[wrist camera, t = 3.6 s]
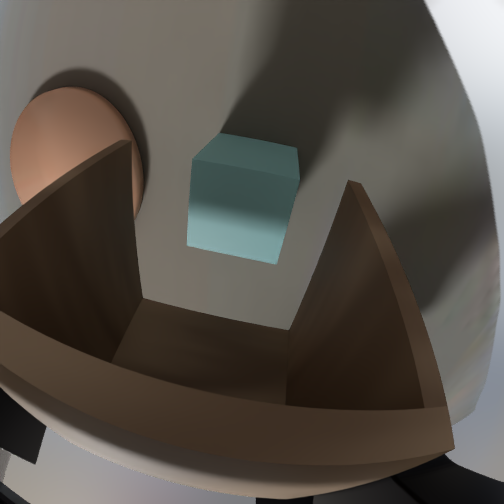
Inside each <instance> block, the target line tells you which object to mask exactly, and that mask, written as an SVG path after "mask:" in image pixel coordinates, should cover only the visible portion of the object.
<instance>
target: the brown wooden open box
mask: <svg viewBox="0 0 504 504" xmlns="http://www.w3.org/2000/svg"><path fill="white" fill-rule="evenodd" d="M0 387H1V388H2V389H3V390H4V391H5V392H6V393H7V394H8V395H9V396H10V397H11V398H13V399H14V400H15V401H16V402H17V403H18V404H19V405H21V406H22V407H23V408H24V409H25V410H27V411H28V412H29V413H30V414H32V415H33V416H34V417H35V418H37V419H38V420H39V421H41V422H42V423H43V424H45V425H46V426H47V427H49V428H50V429H51V430H53V431H54V432H56V433H57V434H59V435H60V436H62V437H63V438H65V439H66V440H68V441H69V442H71V443H72V444H74V445H76V446H78V447H80V448H82V449H84V450H86V451H88V452H91V453H93V454H95V455H97V456H100V457H102V458H104V459H106V460H109V461H111V462H114V463H116V464H119V465H122V466H124V467H126V468H129V469H132V470H135V471H138V472H140V473H143V474H146V475H150V476H153V477H156V478H160V479H163V480H166V481H170V482H174V483H178V484H182V485H186V486H190V487H195V488H199V489H204V490H209V491H215V492H220V493H227V494H234V495H241V496H249V497H259V498H273V499H291V498H299V497H306V496H312V495H318V494H323V493H329V492H333V491H338V490H343V489H347V488H351V487H355V486H359V485H362V484H366V483H370V482H373V481H376V480H380V479H383V478H386V477H389V476H392V475H395V474H397V473H400V472H403V471H406V470H408V469H411V468H413V467H416V466H418V465H421V464H423V463H425V462H428V461H430V460H432V459H434V458H437V457H439V456H441V455H443V454H445V453H447V452H449V451H451V450H453V449H455V446H454V439H453V433H452V427H451V422H450V416H449V411H448V406H447V402H446V397H445V393H444V389H443V385H442V381H441V377H440V373H439V369H438V366H437V362H436V359H435V355H434V352H433V349H432V345H431V342H430V339H429V336H428V333H427V330H426V327H425V324H424V321H423V318H422V315H421V313H420V310H419V307H418V305H417V302H416V299H415V297H414V294H413V291H412V289H411V286H410V284H409V282H408V279H407V277H406V274H405V272H404V270H403V267H402V265H401V263H400V260H399V258H398V256H397V254H396V251H395V249H394V247H393V245H392V243H391V241H390V239H389V236H388V234H387V232H386V230H385V228H384V226H383V224H382V222H381V220H380V218H379V216H378V214H377V212H376V210H375V209H374V207H373V205H372V203H371V201H370V199H369V197H368V195H367V194H366V192H365V190H364V188H363V186H362V185H361V183H357V182H354V181H350V180H348V182H347V185H346V188H345V191H344V193H343V196H342V199H341V202H340V205H339V208H338V210H337V213H336V216H335V219H334V221H333V224H332V227H331V230H330V232H329V235H328V238H327V240H326V243H325V245H324V248H323V251H322V253H321V256H320V258H319V261H318V263H317V266H316V268H315V271H314V273H313V276H312V278H311V281H310V283H309V286H308V288H307V290H306V293H305V295H304V298H303V300H302V302H301V305H300V307H299V309H298V312H297V314H296V316H295V318H294V321H293V323H292V325H291V327H290V330H284V329H278V328H273V327H267V326H262V325H257V324H252V323H247V322H242V321H237V320H232V319H227V318H223V317H218V316H214V315H209V314H205V313H200V312H196V311H192V310H188V309H184V308H179V307H175V306H171V305H167V304H164V303H160V302H156V301H152V300H148V299H145V298H143V296H142V289H141V282H140V274H139V266H138V257H137V247H136V237H135V224H134V209H133V189H132V140H119V141H117V142H116V143H114V144H112V145H110V146H108V147H107V148H105V149H103V150H102V151H100V152H98V153H97V154H95V155H93V156H92V157H90V158H88V159H87V160H85V161H84V162H82V163H80V164H79V165H77V166H76V167H74V168H73V169H71V170H70V171H68V172H67V173H65V174H64V175H62V176H61V177H59V178H58V179H57V180H55V181H54V182H52V183H51V184H50V185H48V186H47V187H45V188H44V189H43V190H41V191H40V192H39V193H37V194H36V195H35V196H34V197H32V198H31V199H30V200H28V201H27V202H26V203H25V204H23V205H22V206H21V207H20V208H19V209H17V210H16V211H15V212H14V213H13V214H11V215H10V216H9V217H8V218H7V219H6V220H5V221H3V222H2V223H1V224H0Z"/></svg>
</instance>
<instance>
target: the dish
mask: <svg viewBox="0 0 504 504" xmlns="http://www.w3.org/2000/svg"><path fill="white" fill-rule="evenodd" d="M119 140H132V189H133V209H134V220H135V219H136V217H137V214H138V212H139V209H140V206H141V202H142V196H143V183H144V177H143V167H142V161H141V157H140V152H139V149H138V146H137V143H136V140H135V138H134V136H133V134H132V131H131V129H130V128H129V126H128V124H127V123H126V121H125V119H124V118H123V116H122V115H121V114H120V113H119V111H118V110H117V109H116V108H115V107H114V106H113V105H112V104H111V103H110V102H109V101H108V100H107V99H105V98H104V97H102V96H101V95H100V94H98V93H96V92H94V91H92V90H89V89H86V88H83V87H75V86H70V87H62V88H58V89H55V90H51V91H48V92H45V93H43V94H41V95H39V96H37V97H36V98H35V99H33V100H32V101H31V102H30V103H29V104H28V105H27V106H26V107H25V109H24V110H23V112H22V113H21V115H20V116H19V118H18V120H17V123H16V125H15V128H14V131H13V135H12V140H11V147H10V164H11V172H12V177H13V181H14V185H15V188H16V191H17V194H18V196H19V198H20V201H21V203H22V205H23V204H25V203H26V202H27V201H28V200H30V199H31V198H32V197H34V196H35V195H36V194H37V193H39V192H40V191H41V190H43V189H44V188H45V187H47V186H48V185H50V184H51V183H52V182H54V181H55V180H57V179H58V178H59V177H61V176H62V175H64V174H65V173H67V172H68V171H70V170H71V169H73V168H74V167H76V166H77V165H79V164H80V163H82V162H84V161H85V160H87V159H88V158H90V157H92V156H93V155H95V154H97V153H98V152H100V151H102V150H103V149H105V148H107V147H108V146H110V145H112V144H114V143H116V142H117V141H119Z"/></svg>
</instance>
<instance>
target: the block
mask: <svg viewBox="0 0 504 504" xmlns="http://www.w3.org/2000/svg"><path fill="white" fill-rule="evenodd" d="M299 182H300V174H299V163H298V153H297V148H295V147H291V146H287V145H282V144H277V143H273V142H268V141H263V140H258V139H253V138H247V137H242V136H236V135H230V134H224V133H219V134H218V135H217V136H216V137H215V138H213V139H212V140H211V141H210V142H209V143H208V144H207V145H206V146H205V147H204V148H203V149H202V150H201V151H200V152H199V153H198V154H197V155H196V156H195V157H194V158H193V159H192V169H191V182H190V196H189V212H188V231H187V246H191V247H196V248H201V249H205V250H210V251H215V252H219V253H224V254H229V255H234V256H238V257H243V258H248V259H253V260H257V261H262V262H267V263H272V264H277V261H278V257H279V254H280V250H281V247H282V243H283V240H284V236H285V233H286V229H287V226H288V222H289V219H290V215H291V211H292V208H293V204H294V201H295V197H296V193H297V189H298V186H299Z"/></svg>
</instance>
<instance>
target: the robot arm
mask: <svg viewBox="0 0 504 504" xmlns="http://www.w3.org/2000/svg"><path fill="white" fill-rule="evenodd" d="M46 427H47V426H46V425H45V424H43V423H42V422H41V421H39V420H38V419H37V418H35V417H34V416H33V415H32V414H30V413H29V412H28V411H27V410H25V409H24V408H23V407H22V406H21V405H19V404H18V403H17V402H16V401H15V400H14V399H13V398H11V397H10V396H9V395H8V394H7V393H6V392H5V391H4V390H3V389H2V388H1V387H0V504H30V503H28V502H27V501H26V500H24V499H23V498H21V497H20V496H19V495H17V494H16V493H15V492H13V491H12V490H11V489H9V488H8V487H7V486H6V485H4V484H3V483H2V482H3V479H4V475H5V471H6V468H7V465H8V462H9V459H10V456H11V454H13V455H16V456H17V457H20V458H22V459H24V460H26V461H28V462H31V463H33V464H36V461H37V457H38V454H39V450H40V447H41V443H42V440H43V437H44V433H45V430H46ZM256 504H504V482H501V481H498V480H495V479H492V478H489V477H487V476H484V475H482V474H479V473H476V472H474V471H471V470H469V469H466V468H464V467H462V466H459V465H457V464H456V463H454V462H453V461H451V460H450V459H449V458H448V457H447V456H446V455H445V454H443V455H441V456H439V457H437V458H434V459H432V460H430V461H428V462H425V463H423V464H421V465H418V466H416V467H413V468H411V469H408V470H406V471H403V472H400V473H397V474H395V475H392V476H389V477H386V478H383V479H380V480H376V481H373V482H370V483H366V484H362V485H359V486H355V487H351V488H347V489H343V490H338V491H333V492H329V493H323V494H318V495H312V496H306V497H299V498H291V499H273V498H259V497H256Z"/></svg>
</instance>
